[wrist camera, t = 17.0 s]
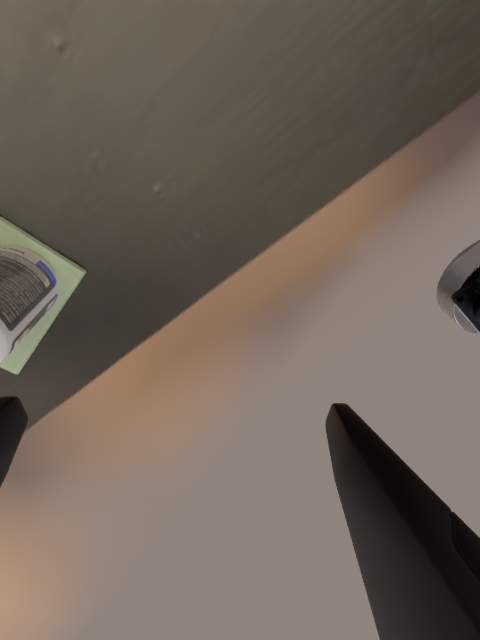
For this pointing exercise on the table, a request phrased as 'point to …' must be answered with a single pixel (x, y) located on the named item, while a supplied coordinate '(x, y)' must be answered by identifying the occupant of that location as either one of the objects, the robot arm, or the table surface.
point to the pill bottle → (23, 294)
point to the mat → (69, 279)
